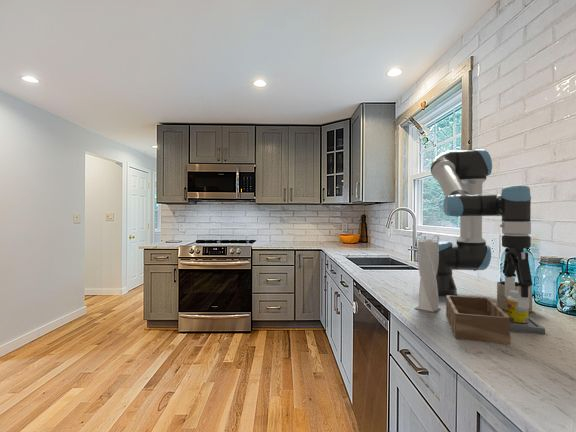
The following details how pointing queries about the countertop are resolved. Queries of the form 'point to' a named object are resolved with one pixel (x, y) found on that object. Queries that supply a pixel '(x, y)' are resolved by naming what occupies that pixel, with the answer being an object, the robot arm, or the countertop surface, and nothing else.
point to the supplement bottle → (516, 310)
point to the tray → (529, 327)
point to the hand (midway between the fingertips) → (516, 301)
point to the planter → (503, 299)
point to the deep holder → (477, 319)
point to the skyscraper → (428, 275)
